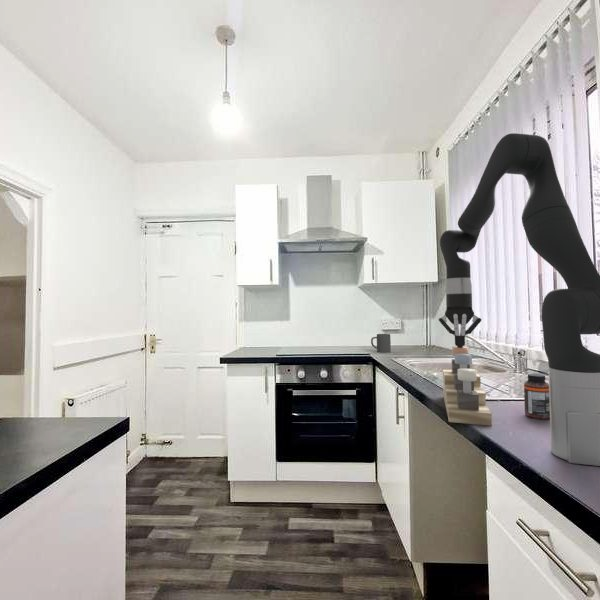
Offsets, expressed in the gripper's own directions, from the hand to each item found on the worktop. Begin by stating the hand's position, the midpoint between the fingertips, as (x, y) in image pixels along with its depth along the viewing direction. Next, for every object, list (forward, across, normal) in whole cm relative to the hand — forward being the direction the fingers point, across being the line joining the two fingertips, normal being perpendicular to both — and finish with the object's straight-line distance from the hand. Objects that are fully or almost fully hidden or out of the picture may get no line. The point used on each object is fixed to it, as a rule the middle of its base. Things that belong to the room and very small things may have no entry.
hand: (460, 347), depth 115 cm
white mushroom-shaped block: (+11, 0, -18) cm, 21 cm away
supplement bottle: (+17, +18, -11) cm, 27 cm away
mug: (+17, -39, +126) cm, 133 cm away
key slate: (+8, 0, -9) cm, 12 cm away
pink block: (+7, 0, 0) cm, 7 cm away
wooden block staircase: (+17, 0, -9) cm, 19 cm away
